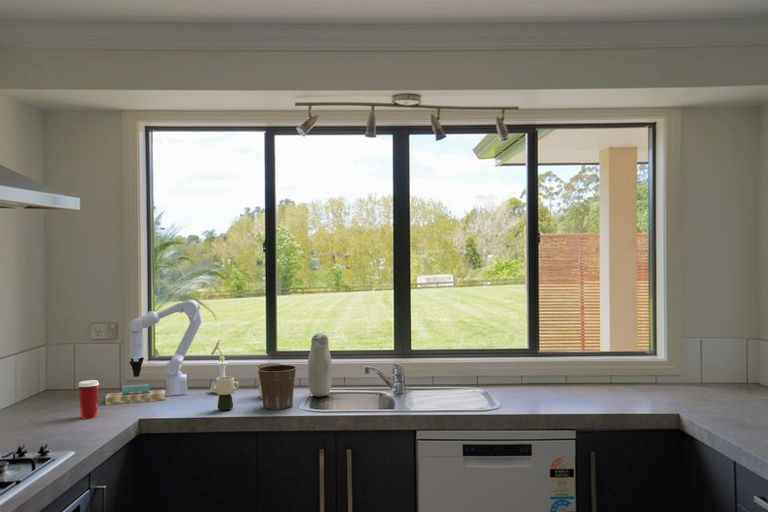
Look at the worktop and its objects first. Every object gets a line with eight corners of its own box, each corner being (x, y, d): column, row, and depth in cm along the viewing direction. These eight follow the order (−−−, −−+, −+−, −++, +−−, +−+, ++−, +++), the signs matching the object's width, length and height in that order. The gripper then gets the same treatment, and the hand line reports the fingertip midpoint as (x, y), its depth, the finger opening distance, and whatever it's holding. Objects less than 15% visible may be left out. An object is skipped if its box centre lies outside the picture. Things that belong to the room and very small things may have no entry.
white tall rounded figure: (304, 397, 286) (303, 334, 286) (319, 393, 294) (318, 331, 295) (321, 399, 280) (320, 335, 281) (336, 395, 289) (335, 333, 289)
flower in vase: (215, 389, 305) (215, 337, 305) (238, 390, 303) (238, 337, 303) (204, 395, 292) (203, 340, 292) (228, 396, 290) (227, 340, 290)
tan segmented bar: (164, 396, 292) (164, 389, 292) (164, 400, 284) (164, 393, 284) (107, 400, 285) (107, 393, 285) (105, 404, 276) (105, 397, 276)
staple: (149, 398, 287) (149, 384, 287) (149, 400, 284) (148, 385, 284) (122, 400, 284) (122, 385, 284) (122, 402, 281) (121, 387, 281)
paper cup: (104, 415, 256) (103, 380, 256) (87, 420, 249) (87, 384, 250) (90, 414, 260) (89, 379, 260) (73, 418, 253) (73, 382, 253)
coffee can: (269, 393, 296) (269, 362, 296) (286, 395, 290) (286, 364, 290) (253, 397, 287) (253, 365, 287) (271, 399, 281) (270, 367, 281)
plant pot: (261, 412, 258) (261, 372, 258) (254, 404, 273) (253, 366, 273) (301, 408, 264) (300, 369, 264) (292, 400, 279) (291, 363, 279)
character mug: (239, 407, 269) (238, 375, 269) (238, 410, 262) (238, 378, 262) (212, 408, 266) (211, 377, 266) (211, 412, 259) (210, 380, 259)
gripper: (128, 343, 300) (128, 373, 299) (126, 347, 286) (126, 378, 286) (144, 343, 302) (144, 372, 302) (143, 347, 288) (143, 377, 288)
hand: (137, 375), depth 294 cm, fingers open, 7 cm apart
